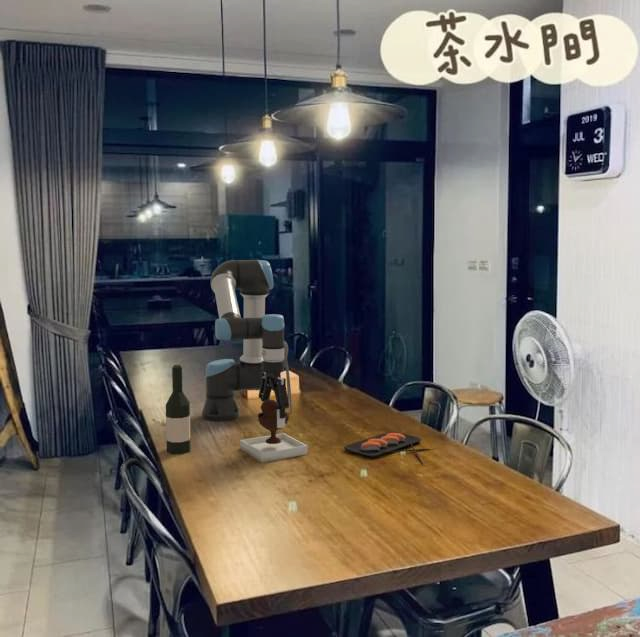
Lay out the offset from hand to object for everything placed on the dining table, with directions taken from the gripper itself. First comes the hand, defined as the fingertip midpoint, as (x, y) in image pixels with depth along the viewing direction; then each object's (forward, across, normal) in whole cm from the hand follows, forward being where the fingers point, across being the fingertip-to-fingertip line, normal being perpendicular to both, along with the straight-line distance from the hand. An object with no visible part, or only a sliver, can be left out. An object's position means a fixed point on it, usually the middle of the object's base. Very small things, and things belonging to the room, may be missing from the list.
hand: (273, 423), depth 232 cm
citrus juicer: (+10, -49, +30) cm, 58 cm away
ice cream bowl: (+7, 0, 0) cm, 7 cm away
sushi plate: (+11, +22, +38) cm, 45 cm away
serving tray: (+10, 0, 0) cm, 10 cm away
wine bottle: (+10, -17, -28) cm, 34 cm away
